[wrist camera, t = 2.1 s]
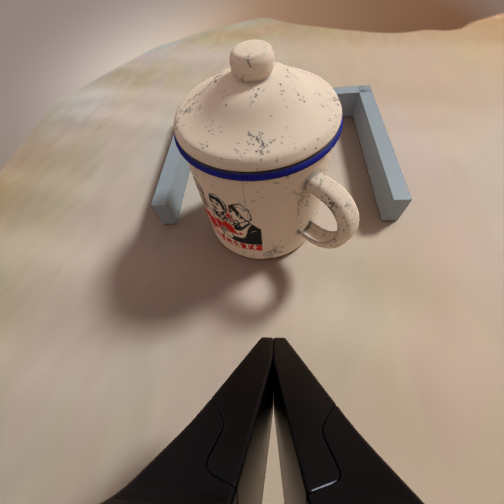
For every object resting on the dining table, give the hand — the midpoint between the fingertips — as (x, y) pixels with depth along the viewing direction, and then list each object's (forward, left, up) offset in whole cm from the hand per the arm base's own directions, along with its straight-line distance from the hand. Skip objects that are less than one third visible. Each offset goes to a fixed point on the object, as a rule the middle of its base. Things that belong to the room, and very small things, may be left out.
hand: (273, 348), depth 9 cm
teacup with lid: (+10, +4, -7) cm, 13 cm away
